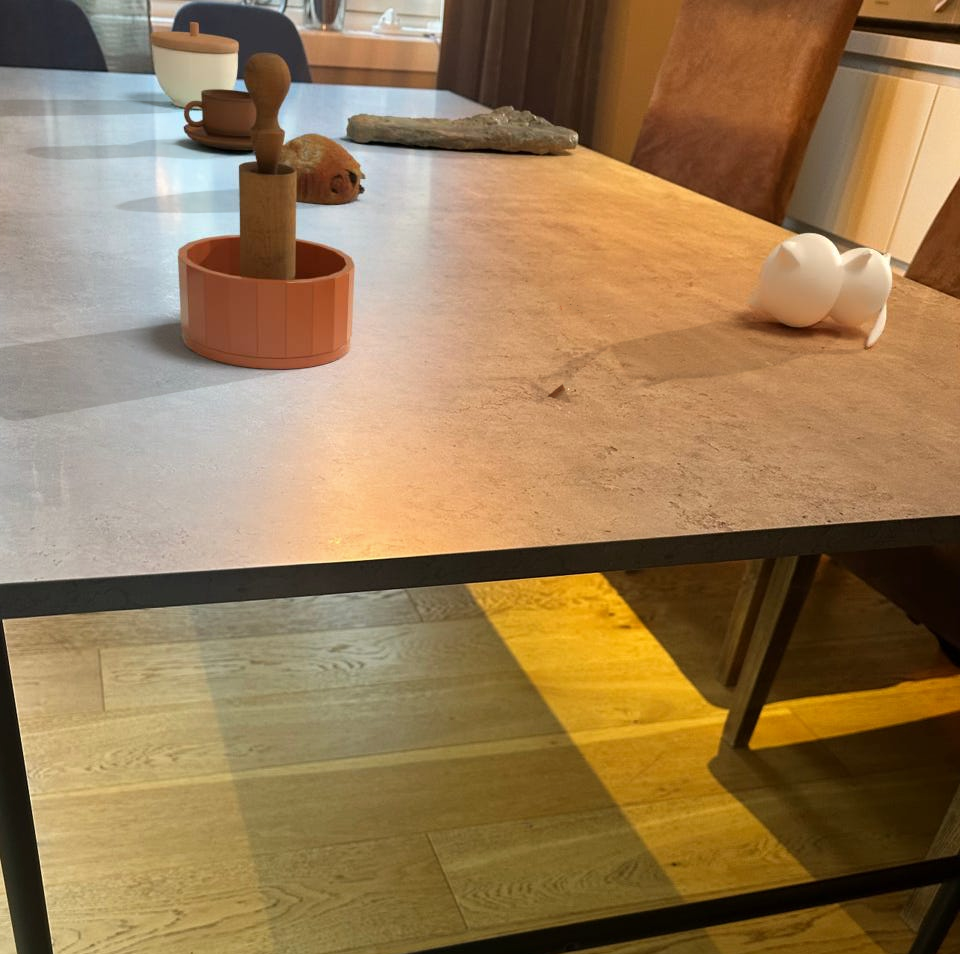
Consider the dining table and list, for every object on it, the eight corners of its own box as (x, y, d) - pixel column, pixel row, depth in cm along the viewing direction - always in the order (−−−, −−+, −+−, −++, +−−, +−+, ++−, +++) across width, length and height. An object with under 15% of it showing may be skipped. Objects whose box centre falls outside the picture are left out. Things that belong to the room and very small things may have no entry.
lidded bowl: (244, 104, 170) (243, 23, 164) (234, 116, 160) (232, 31, 154) (162, 95, 169) (157, 14, 163) (146, 107, 158) (141, 21, 152)
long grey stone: (339, 142, 158) (353, 160, 150) (338, 102, 154) (353, 119, 147) (562, 141, 167) (586, 158, 160) (566, 104, 164) (591, 119, 157)
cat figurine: (904, 219, 95) (776, 204, 93) (929, 316, 91) (796, 302, 88) (854, 288, 103) (735, 276, 100) (875, 380, 98) (752, 369, 96)
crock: (146, 342, 77) (140, 256, 74) (245, 304, 87) (244, 226, 83) (293, 382, 74) (294, 293, 70) (379, 337, 83) (384, 257, 80)
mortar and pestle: (275, 350, 76) (274, 62, 66) (203, 328, 78) (192, 47, 68) (330, 329, 81) (338, 59, 71) (261, 309, 83) (259, 45, 74)
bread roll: (311, 214, 129) (285, 144, 126) (384, 189, 124) (360, 115, 121) (270, 230, 121) (242, 155, 118) (347, 203, 116) (320, 124, 113)
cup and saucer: (228, 159, 133) (227, 104, 130) (164, 141, 139) (161, 87, 135) (298, 152, 142) (299, 100, 138) (235, 135, 147) (234, 85, 144)
